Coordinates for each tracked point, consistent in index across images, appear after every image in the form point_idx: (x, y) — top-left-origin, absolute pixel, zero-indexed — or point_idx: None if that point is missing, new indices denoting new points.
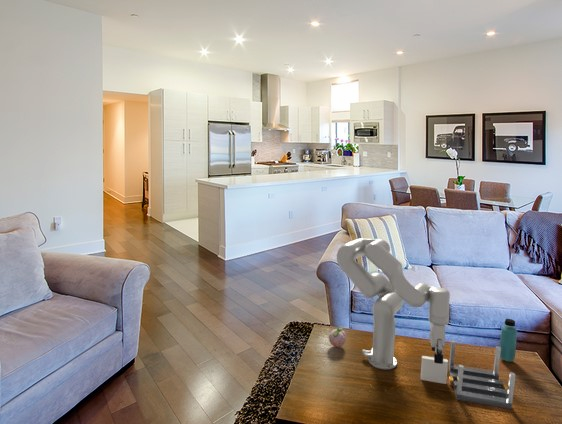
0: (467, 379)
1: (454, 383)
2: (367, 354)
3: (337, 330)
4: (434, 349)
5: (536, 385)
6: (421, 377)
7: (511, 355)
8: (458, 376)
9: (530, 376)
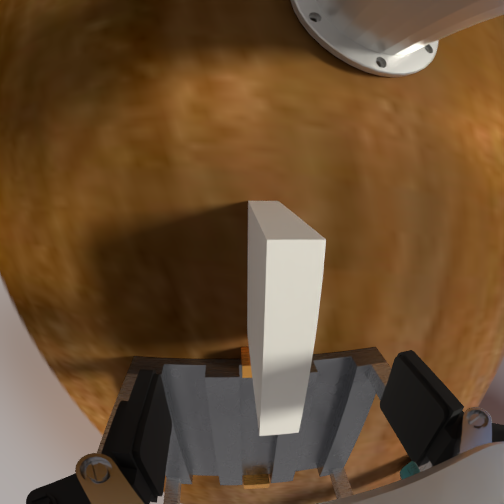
0: None
1: (216, 378)
2: None
3: None
4: (398, 380)
5: (307, 500)
6: (249, 206)
7: None
8: (102, 446)
9: None
